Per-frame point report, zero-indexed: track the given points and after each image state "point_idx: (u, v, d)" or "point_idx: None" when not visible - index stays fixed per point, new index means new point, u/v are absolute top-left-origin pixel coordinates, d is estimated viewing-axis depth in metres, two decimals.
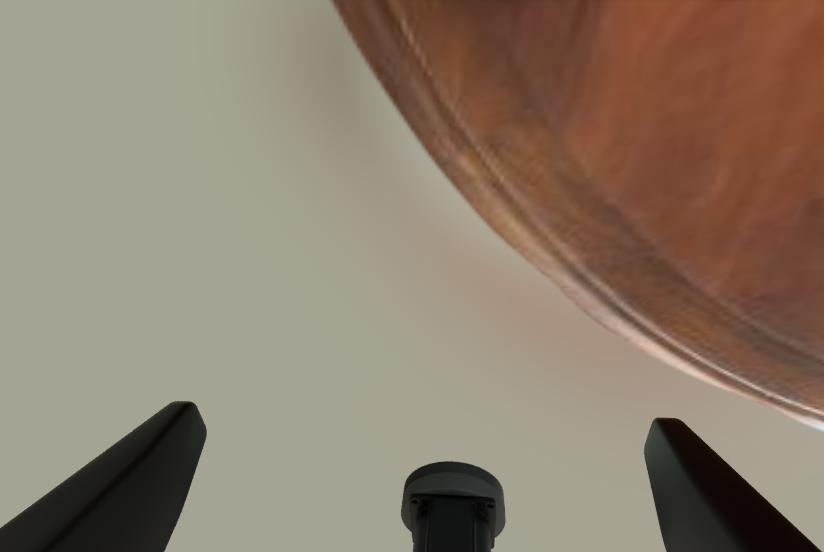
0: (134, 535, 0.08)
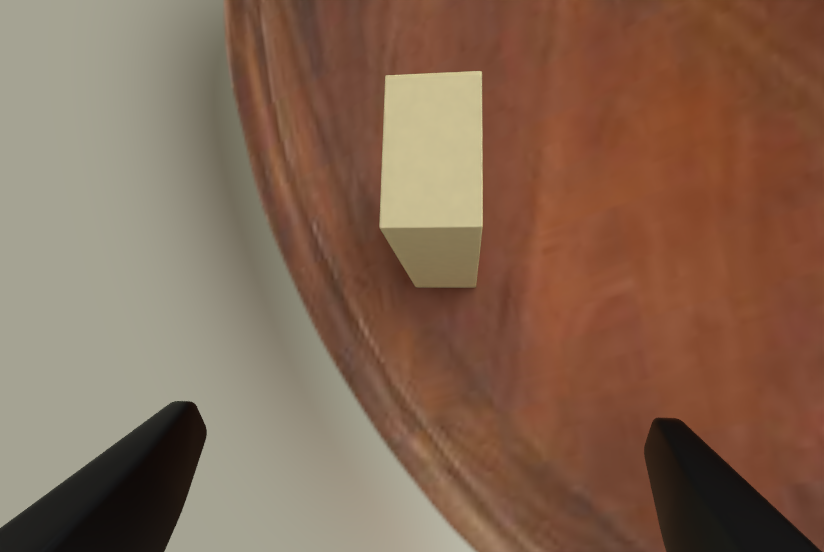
0: (134, 535, 0.08)
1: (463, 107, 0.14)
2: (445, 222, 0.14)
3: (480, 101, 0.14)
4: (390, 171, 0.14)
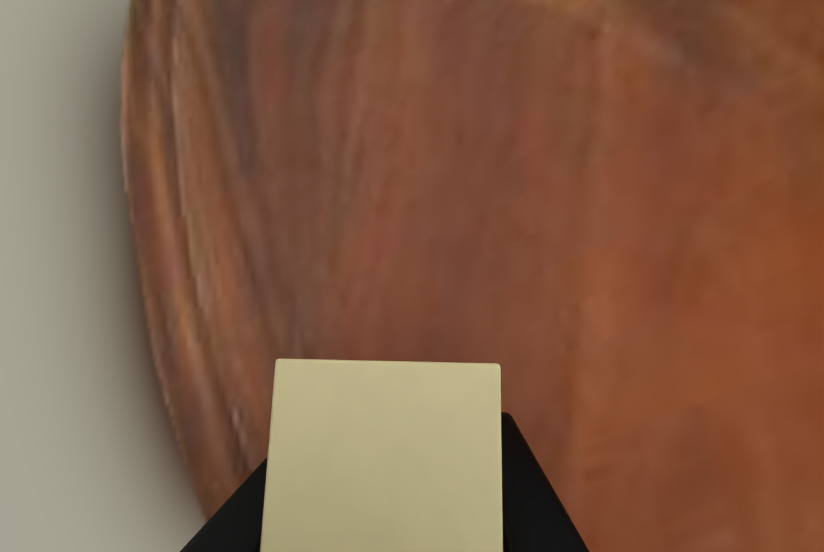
0: None
1: (455, 464, 0.06)
2: None
3: (497, 447, 0.06)
4: None
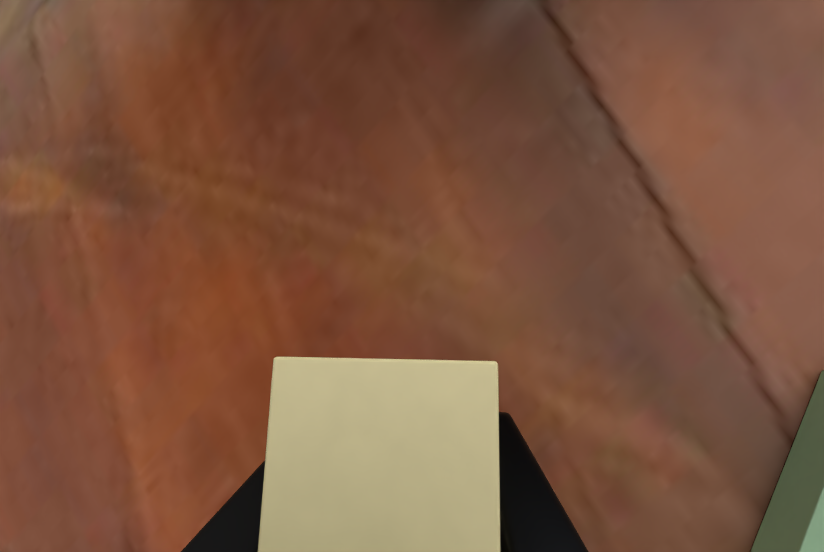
0: None
1: (453, 461, 0.06)
2: None
3: (495, 445, 0.06)
4: None
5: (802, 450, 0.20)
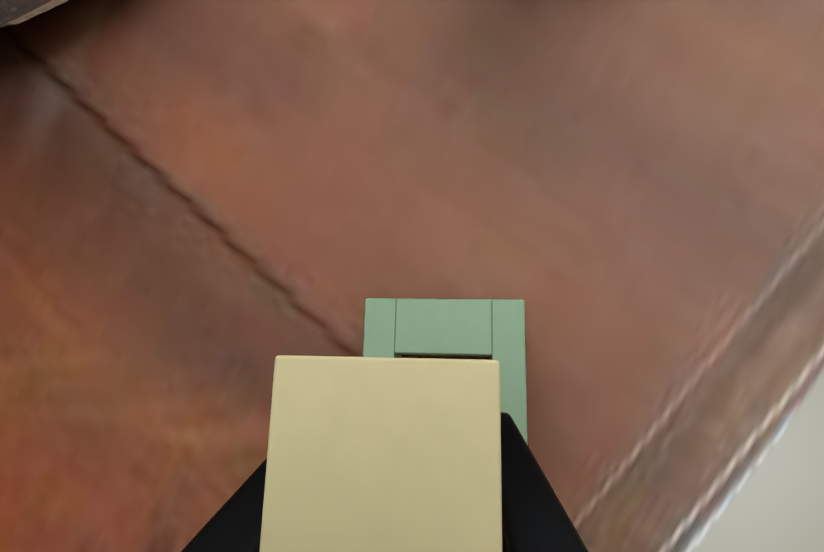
0: None
1: (455, 460, 0.06)
2: None
3: (497, 444, 0.06)
4: None
5: None
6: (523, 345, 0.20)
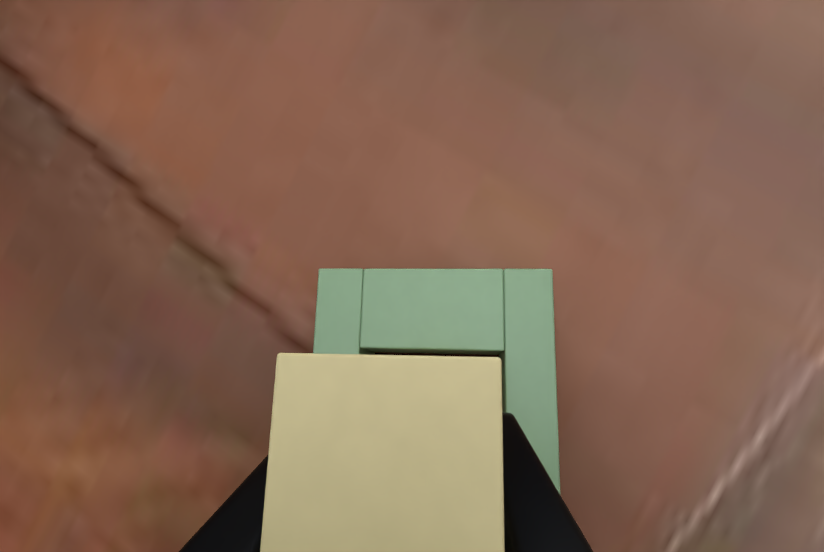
0: None
1: (457, 457, 0.06)
2: None
3: (499, 441, 0.06)
4: None
5: None
6: (551, 336, 0.13)
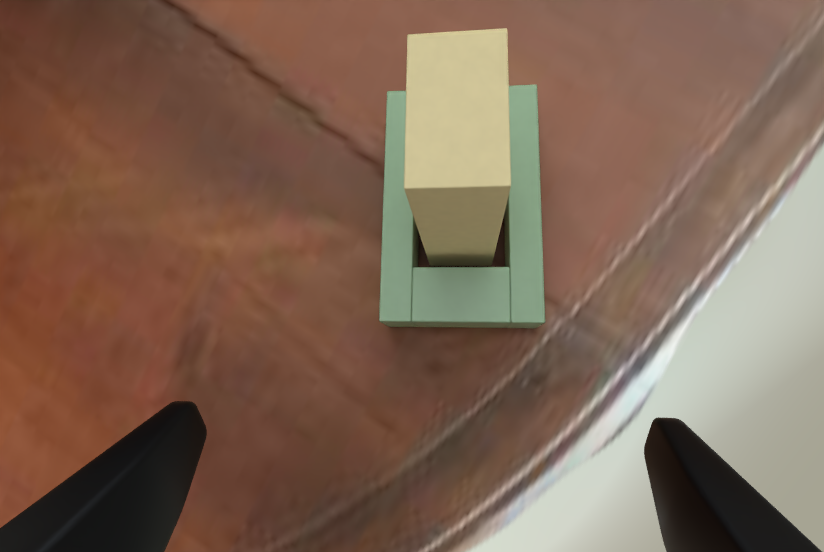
0: (134, 535, 0.08)
1: (489, 65, 0.14)
2: (472, 182, 0.13)
3: (506, 59, 0.14)
4: (414, 131, 0.14)
5: None
6: (536, 123, 0.21)
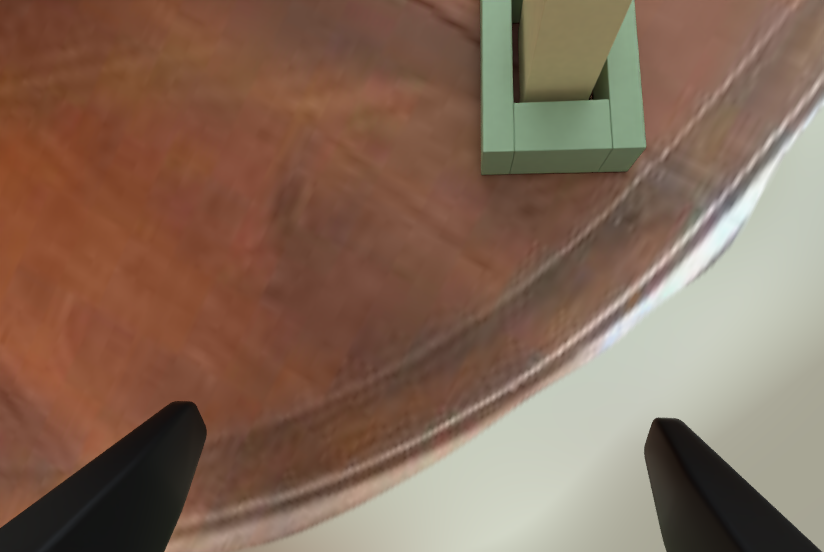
0: (134, 535, 0.08)
1: None
2: None
3: None
4: None
5: None
6: None
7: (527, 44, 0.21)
